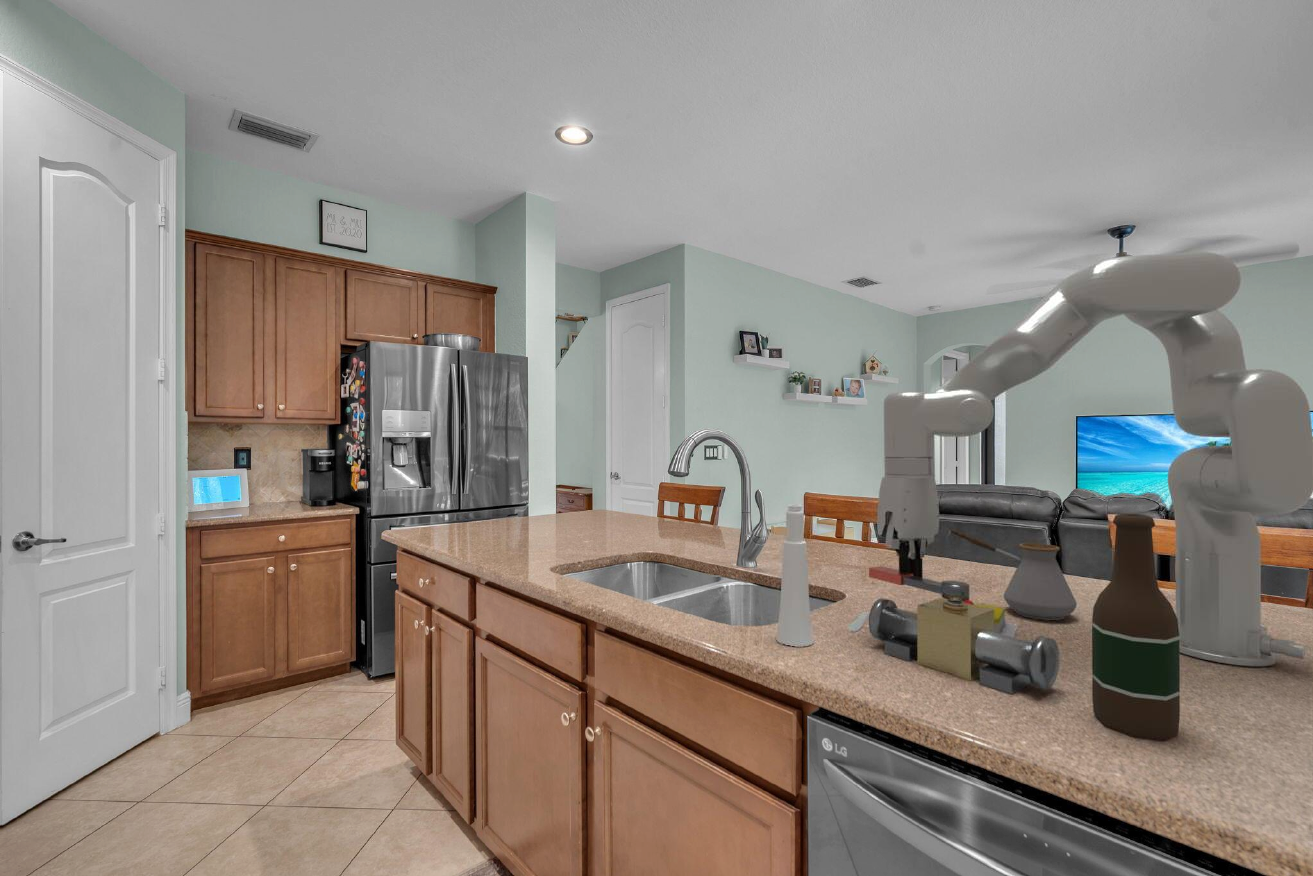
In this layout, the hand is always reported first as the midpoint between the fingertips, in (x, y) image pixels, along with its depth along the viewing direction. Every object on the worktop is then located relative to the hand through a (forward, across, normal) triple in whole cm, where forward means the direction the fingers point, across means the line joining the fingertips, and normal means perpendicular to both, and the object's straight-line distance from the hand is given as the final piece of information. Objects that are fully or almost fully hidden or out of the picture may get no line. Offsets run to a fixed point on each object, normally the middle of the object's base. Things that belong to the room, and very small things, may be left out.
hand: (910, 581), depth 96 cm
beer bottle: (+10, +3, +31) cm, 33 cm away
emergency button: (+11, -17, -1) cm, 20 cm away
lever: (0, +3, +4) cm, 5 cm away
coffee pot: (+10, -31, -2) cm, 33 cm away
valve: (+10, +4, +10) cm, 14 cm away
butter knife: (+10, -7, -15) cm, 20 cm away
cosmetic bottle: (+10, +16, -10) cm, 21 cm away
